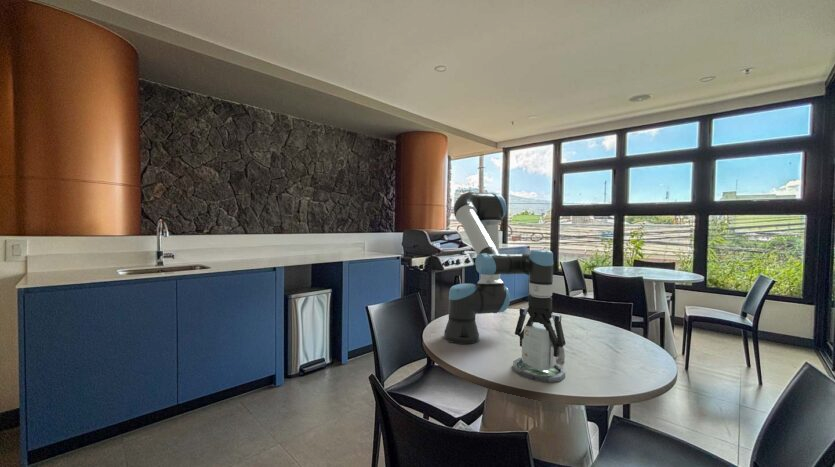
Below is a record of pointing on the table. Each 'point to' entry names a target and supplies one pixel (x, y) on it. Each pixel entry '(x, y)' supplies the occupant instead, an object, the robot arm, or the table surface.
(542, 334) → the small box
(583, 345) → the table surface
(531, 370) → the steel bowl
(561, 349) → the caliper
